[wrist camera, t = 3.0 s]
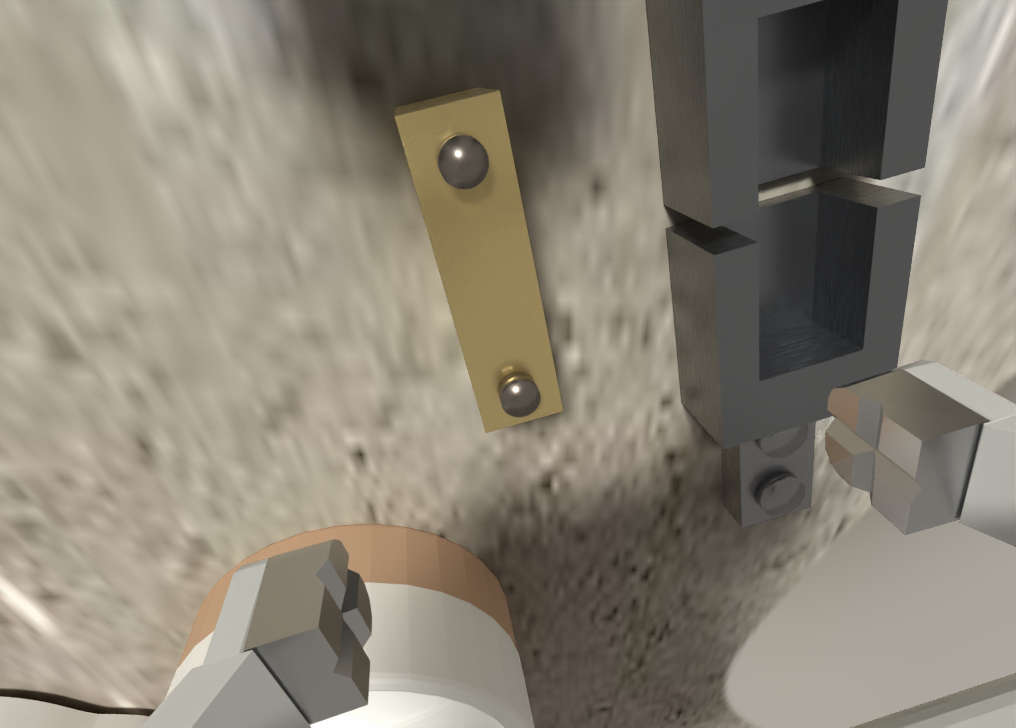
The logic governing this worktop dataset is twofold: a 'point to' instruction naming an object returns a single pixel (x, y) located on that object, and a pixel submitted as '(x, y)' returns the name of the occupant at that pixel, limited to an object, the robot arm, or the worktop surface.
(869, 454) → the robot arm
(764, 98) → the chain end near
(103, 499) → the worktop surface
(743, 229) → the chain end far
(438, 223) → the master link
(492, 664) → the bowl
